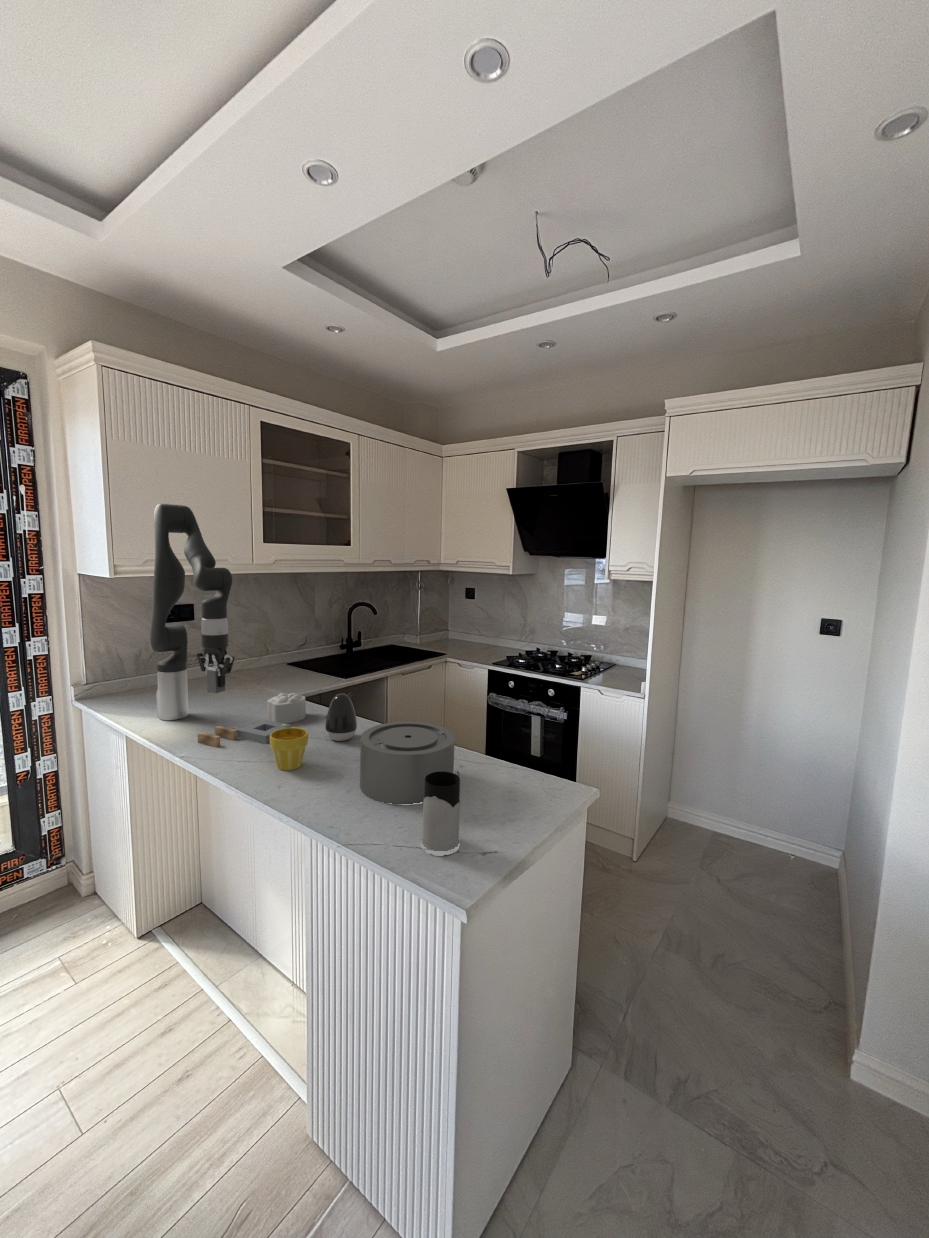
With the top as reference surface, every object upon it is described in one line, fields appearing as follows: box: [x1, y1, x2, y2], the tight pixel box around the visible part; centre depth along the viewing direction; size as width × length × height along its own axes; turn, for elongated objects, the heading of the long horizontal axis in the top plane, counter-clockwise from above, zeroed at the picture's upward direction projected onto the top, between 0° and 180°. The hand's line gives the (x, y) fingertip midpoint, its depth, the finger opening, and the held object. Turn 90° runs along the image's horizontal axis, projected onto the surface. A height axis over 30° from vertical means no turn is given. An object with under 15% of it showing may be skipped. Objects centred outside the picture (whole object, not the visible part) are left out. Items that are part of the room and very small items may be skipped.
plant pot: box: [269, 726, 309, 771], centre depth 150 cm, size 10×10×10 cm
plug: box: [206, 666, 226, 694], centre depth 164 cm, size 4×4×8 cm
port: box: [236, 719, 293, 744], centre depth 174 cm, size 12×12×3 cm
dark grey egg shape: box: [324, 692, 358, 742], centre depth 172 cm, size 10×10×15 cm
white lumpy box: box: [266, 692, 307, 724], centre depth 191 cm, size 10×13×9 cm
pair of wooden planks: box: [197, 725, 238, 748], centre depth 167 cm, size 8×8×3 cm
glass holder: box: [421, 769, 461, 851], centre depth 114 cm, size 9×14×15 cm, turn 159°
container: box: [359, 720, 456, 804], centre depth 141 cm, size 25×25×13 cm
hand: (216, 685), depth 165 cm, fingers closed on plug, 3 cm apart
